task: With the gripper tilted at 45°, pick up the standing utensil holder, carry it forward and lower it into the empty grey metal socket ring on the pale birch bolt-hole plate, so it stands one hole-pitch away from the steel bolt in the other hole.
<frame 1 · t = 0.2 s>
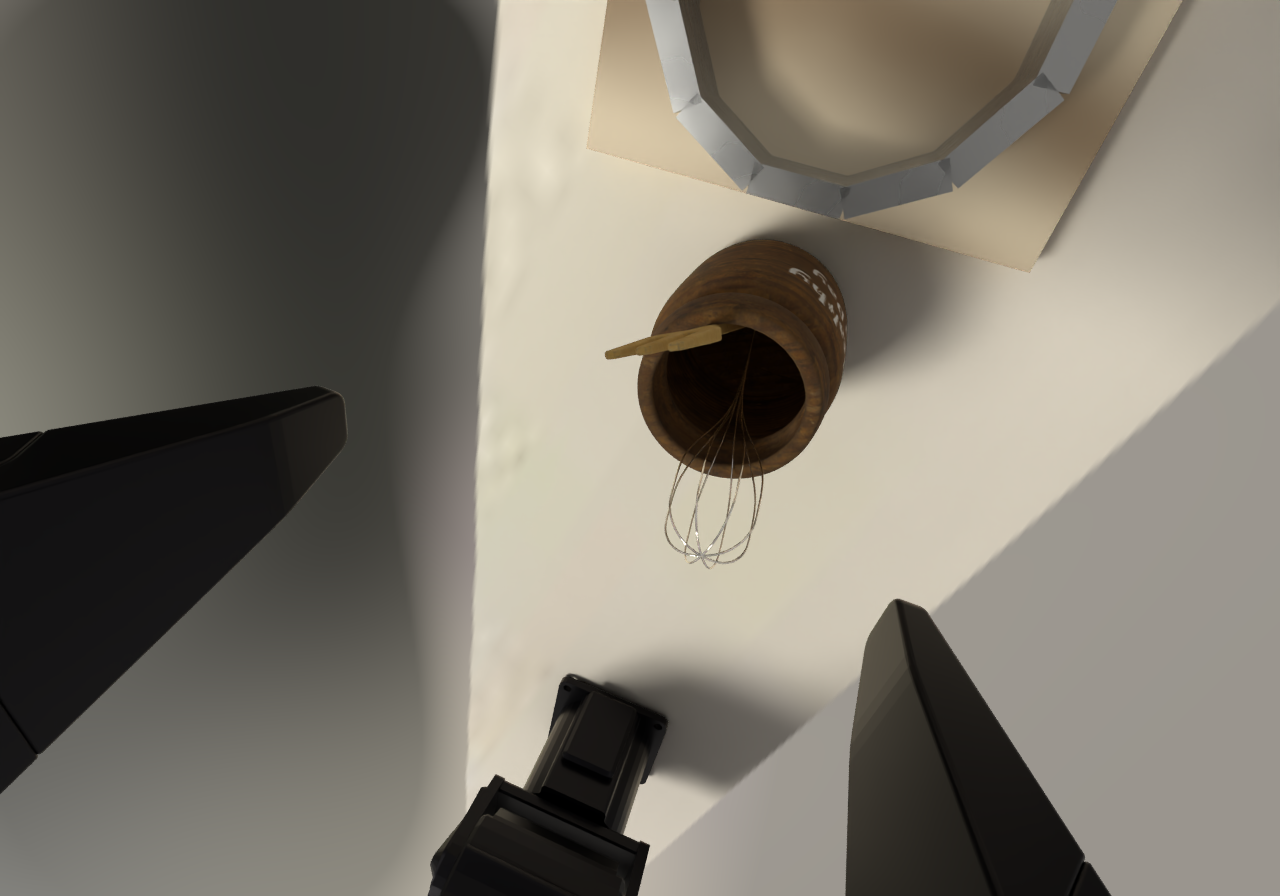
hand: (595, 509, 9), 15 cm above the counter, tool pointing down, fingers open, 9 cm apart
utensil holder: (761, 314, 22), on the counter
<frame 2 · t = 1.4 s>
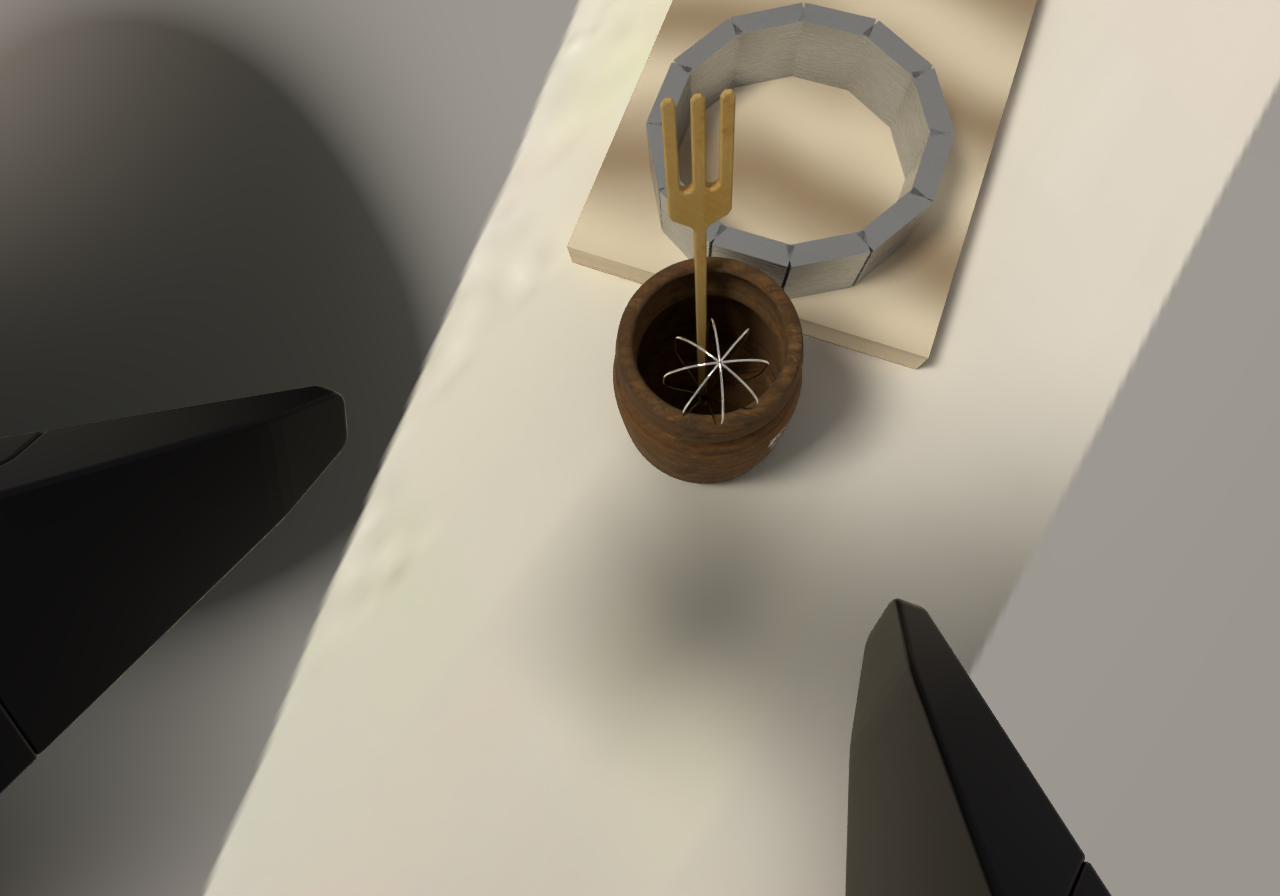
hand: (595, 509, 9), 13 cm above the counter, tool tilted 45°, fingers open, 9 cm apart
utensil holder: (702, 408, 24), on the counter
bolt-hole plate: (820, 87, 26), on the counter
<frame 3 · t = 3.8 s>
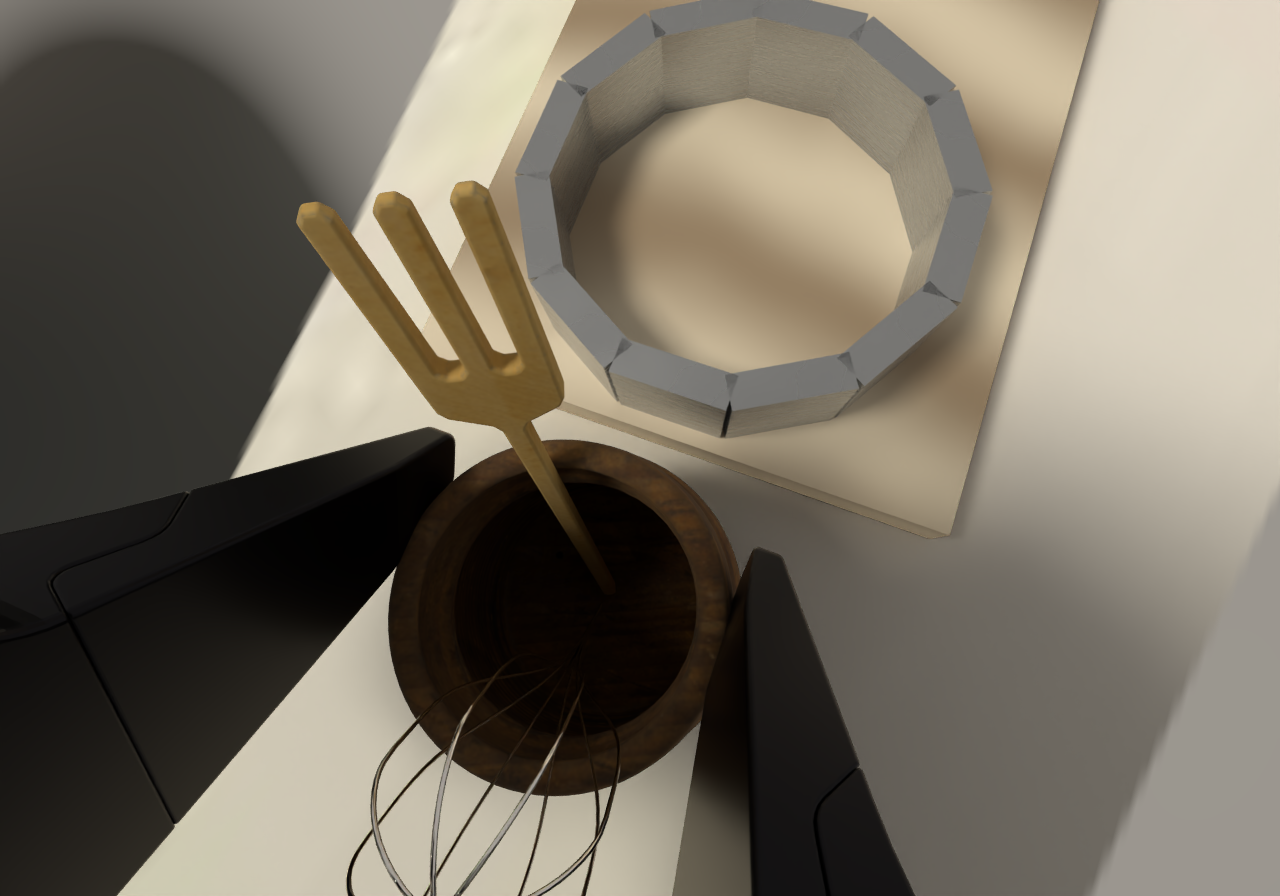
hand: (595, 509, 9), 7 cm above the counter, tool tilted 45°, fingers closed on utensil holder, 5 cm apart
utensil holder: (612, 591, 16), on the counter, touching gripper
bolt-hole plate: (790, 112, 18), on the counter
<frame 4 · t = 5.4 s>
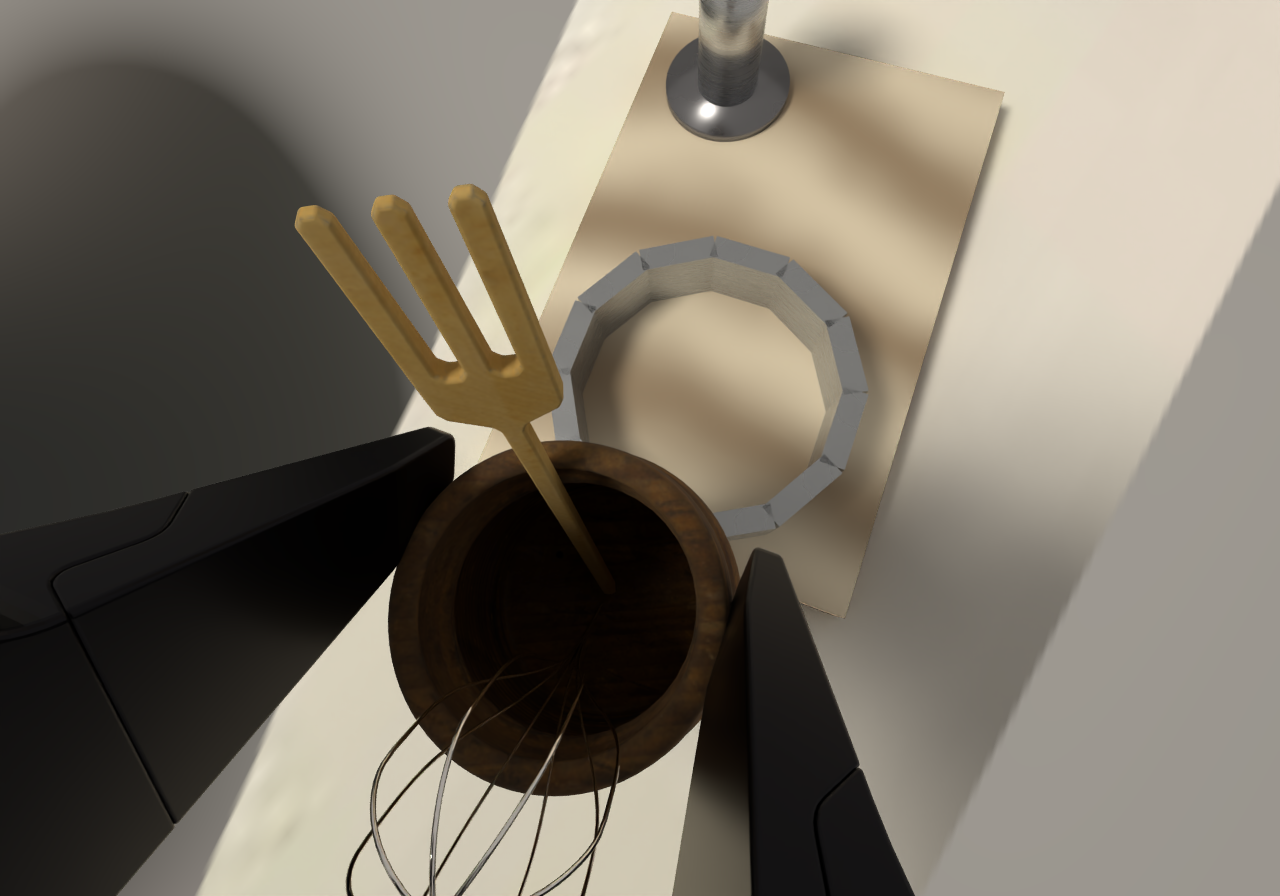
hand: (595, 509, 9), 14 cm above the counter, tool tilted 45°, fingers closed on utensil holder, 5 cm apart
utensil holder: (612, 590, 16), point 7 cm above the counter, touching gripper
bolt-hole plate: (744, 292, 25), on the counter
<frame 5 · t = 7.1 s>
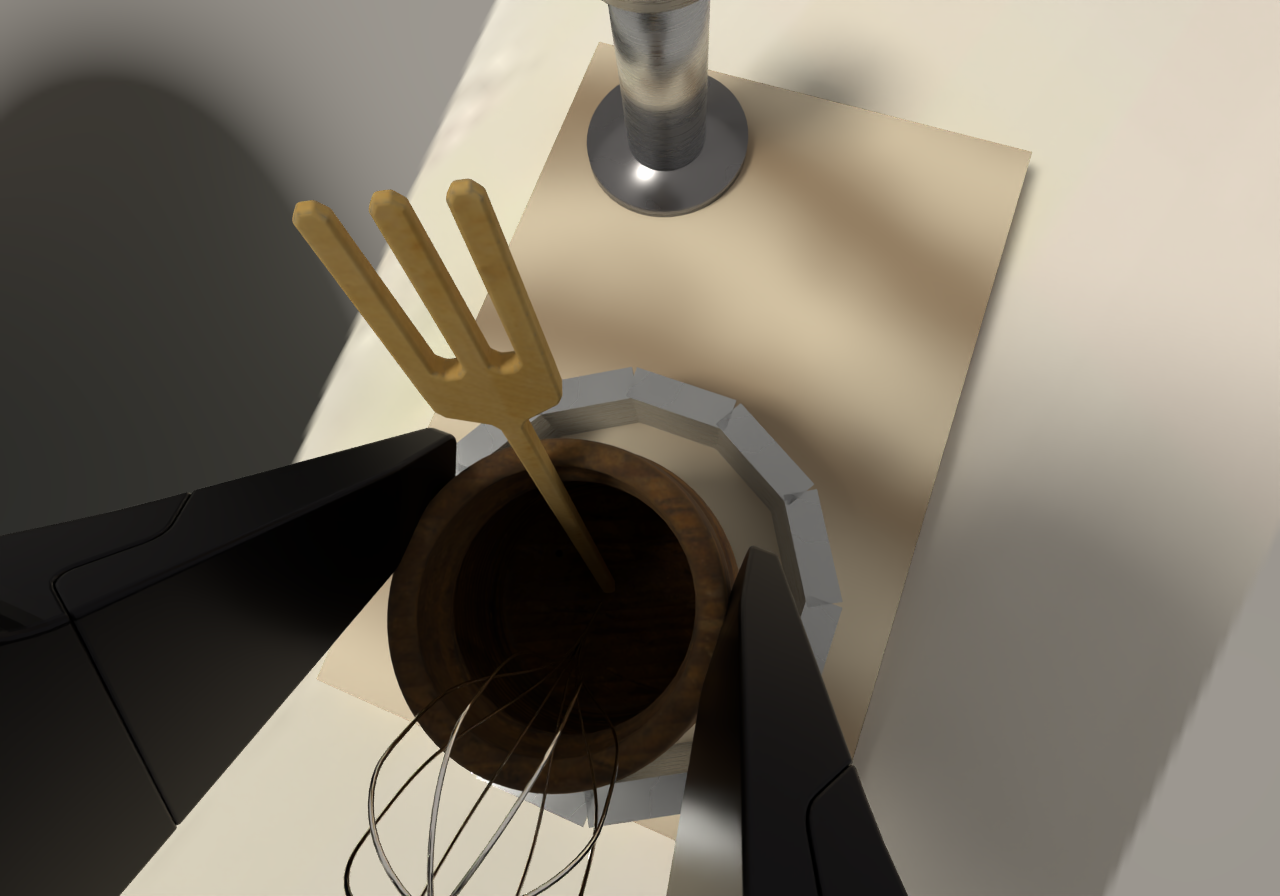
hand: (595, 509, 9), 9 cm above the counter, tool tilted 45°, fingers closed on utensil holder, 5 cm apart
utensil holder: (612, 589, 16), point 2 cm above the counter, touching gripper
bolt-hole plate: (688, 415, 19), on the counter
when the fingers open (9 cm above the counter, at t = 7.4 s): utensil holder drops 1 cm, resting on bolt-hole plate.
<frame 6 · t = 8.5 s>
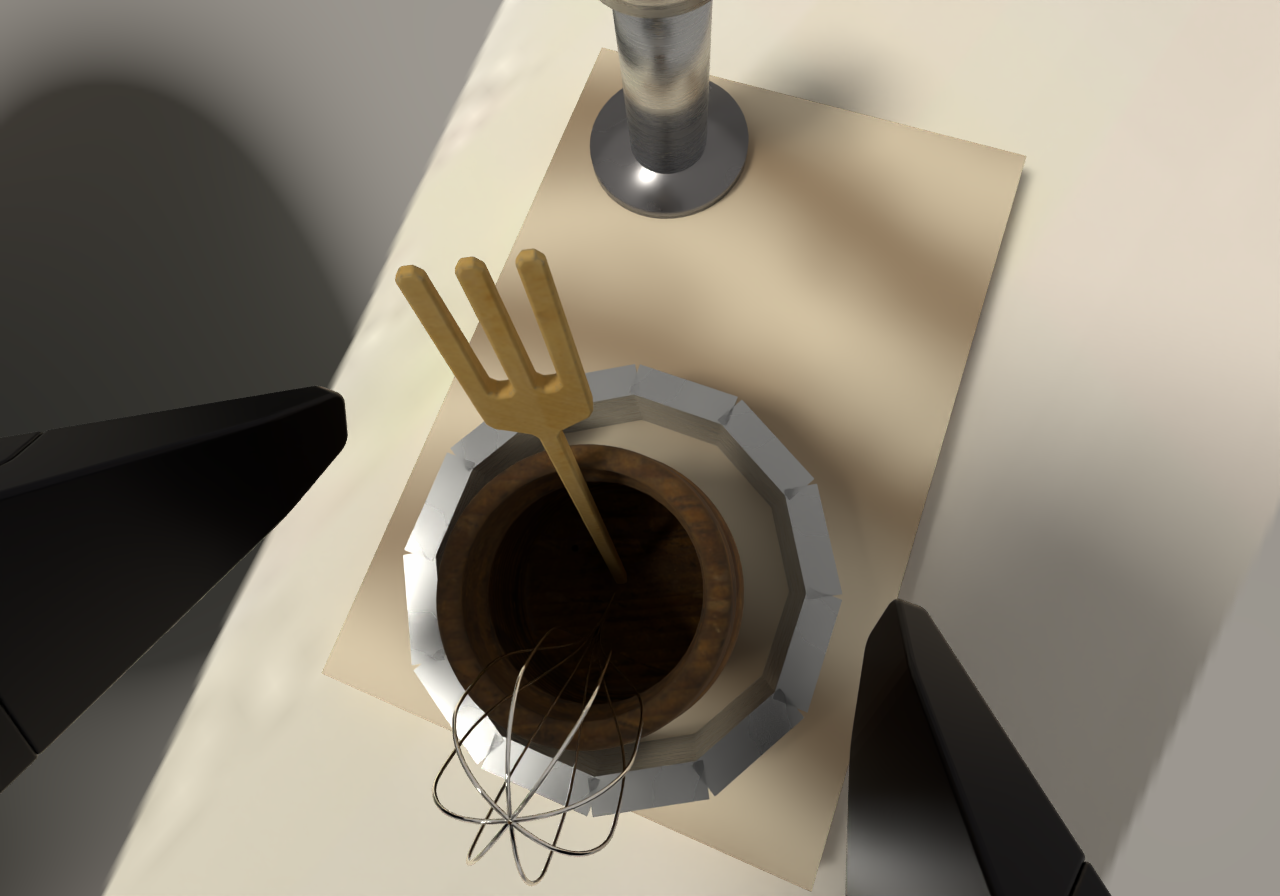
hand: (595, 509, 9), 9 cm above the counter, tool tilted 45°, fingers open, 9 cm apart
utensil holder: (624, 581, 17), point 1 cm above the counter, touching bolt-hole plate
bolt-hole plate: (689, 413, 19), on the counter
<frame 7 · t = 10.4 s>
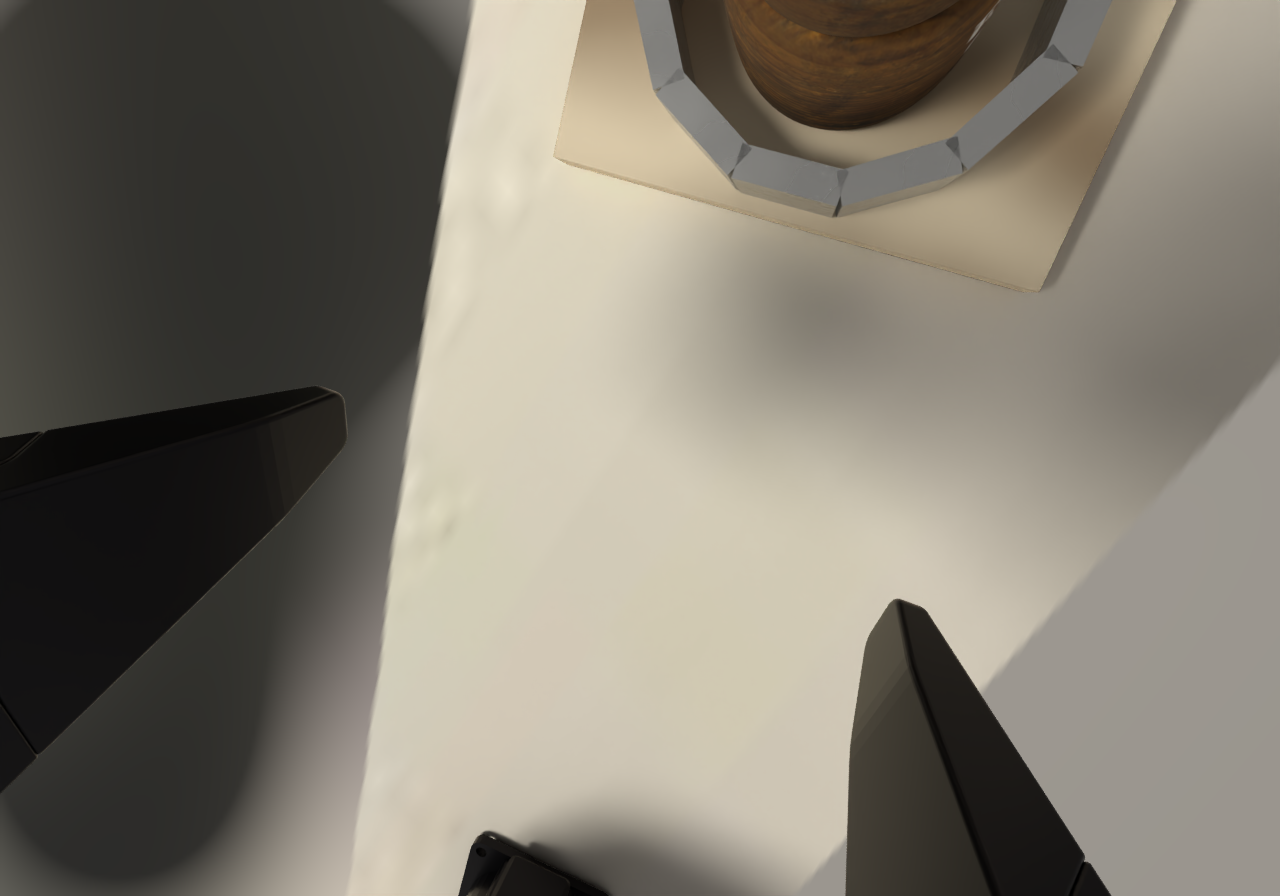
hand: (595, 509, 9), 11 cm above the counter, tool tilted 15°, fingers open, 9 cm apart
utensil holder: (851, 8, 16), point 1 cm above the counter, touching bolt-hole plate
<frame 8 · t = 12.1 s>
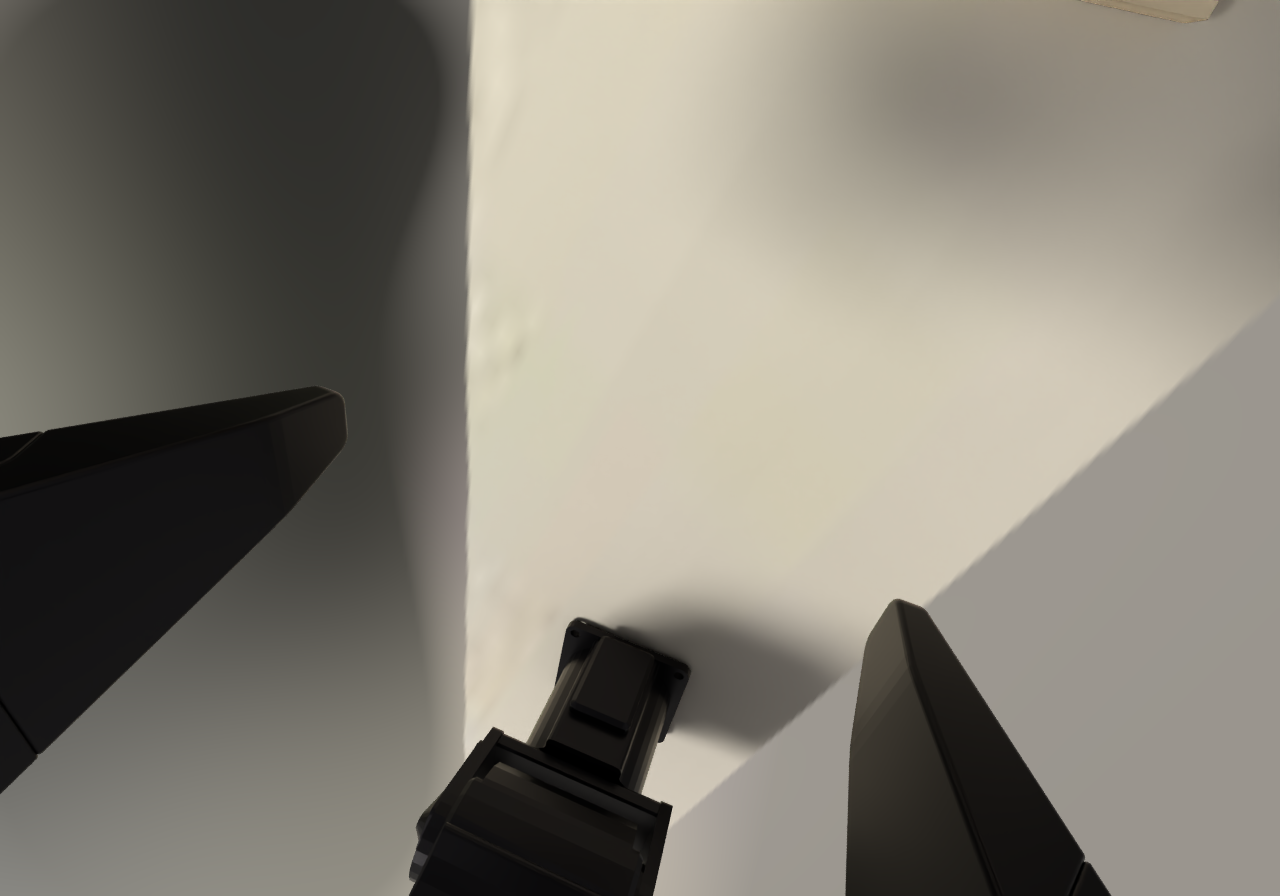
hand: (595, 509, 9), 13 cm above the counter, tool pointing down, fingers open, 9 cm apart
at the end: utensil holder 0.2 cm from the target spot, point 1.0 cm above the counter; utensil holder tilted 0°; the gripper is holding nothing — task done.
